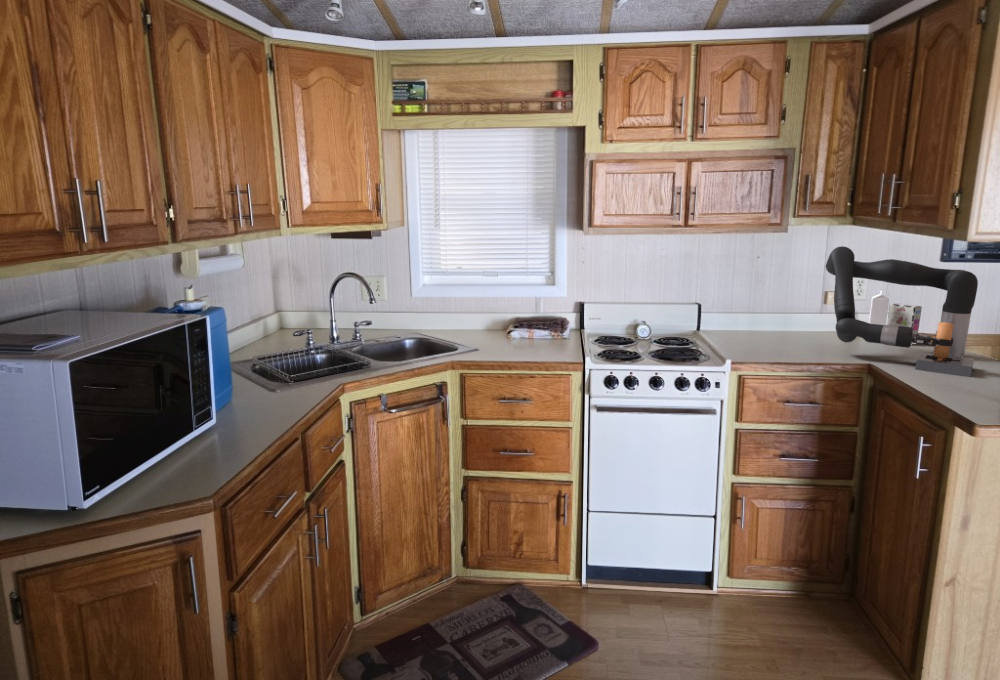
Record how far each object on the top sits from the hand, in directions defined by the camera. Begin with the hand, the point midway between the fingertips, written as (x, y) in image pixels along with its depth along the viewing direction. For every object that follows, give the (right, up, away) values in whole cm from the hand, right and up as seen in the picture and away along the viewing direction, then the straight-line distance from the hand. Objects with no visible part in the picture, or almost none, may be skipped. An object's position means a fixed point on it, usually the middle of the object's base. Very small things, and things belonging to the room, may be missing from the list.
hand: (952, 342), depth 228 cm
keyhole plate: (-1, -9, +3) cm, 10 cm away
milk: (+2, 0, +51) cm, 51 cm away
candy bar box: (+13, 0, +50) cm, 52 cm away
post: (-2, -9, +3) cm, 10 cm away
